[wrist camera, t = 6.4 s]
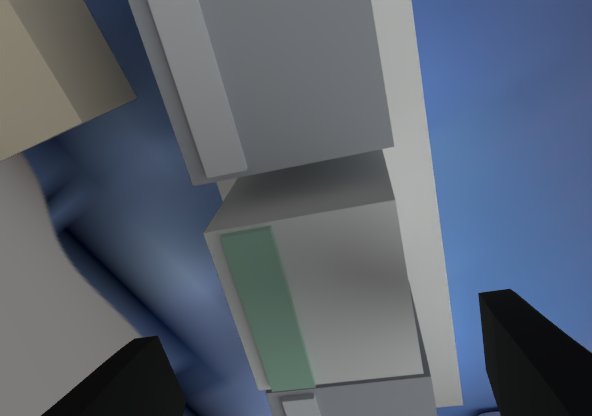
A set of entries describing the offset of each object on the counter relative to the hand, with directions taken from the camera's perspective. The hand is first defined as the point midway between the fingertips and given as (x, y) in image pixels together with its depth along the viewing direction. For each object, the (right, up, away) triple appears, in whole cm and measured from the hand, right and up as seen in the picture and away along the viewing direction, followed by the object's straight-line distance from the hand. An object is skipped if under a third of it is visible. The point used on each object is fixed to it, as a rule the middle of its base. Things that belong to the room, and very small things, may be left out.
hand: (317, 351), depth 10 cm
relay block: (-9, +8, +7) cm, 14 cm away
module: (+1, +3, +7) cm, 7 cm away
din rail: (+1, +4, +8) cm, 9 cm away
